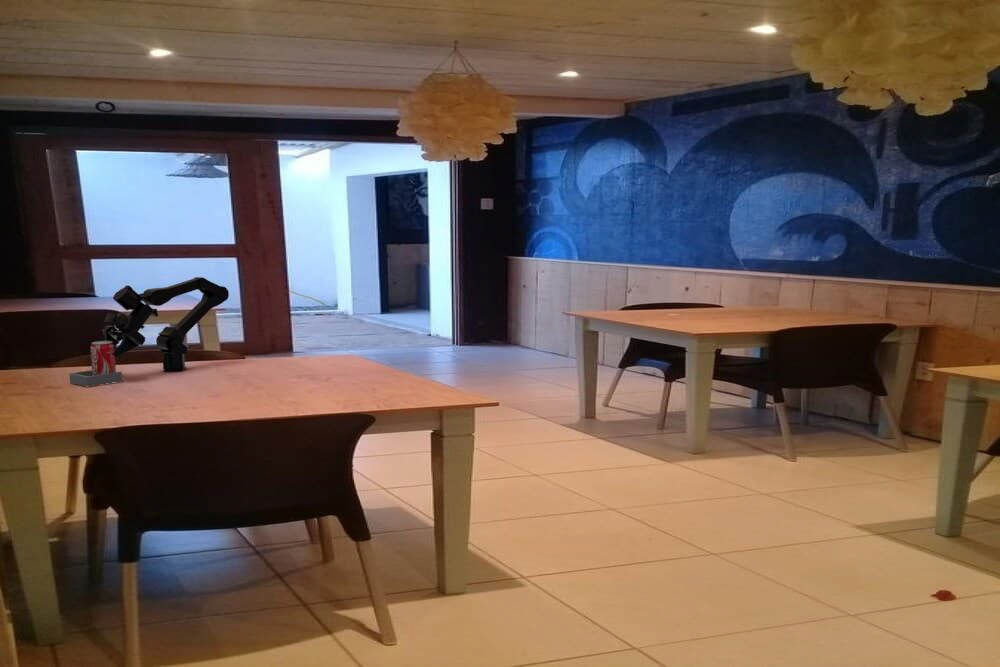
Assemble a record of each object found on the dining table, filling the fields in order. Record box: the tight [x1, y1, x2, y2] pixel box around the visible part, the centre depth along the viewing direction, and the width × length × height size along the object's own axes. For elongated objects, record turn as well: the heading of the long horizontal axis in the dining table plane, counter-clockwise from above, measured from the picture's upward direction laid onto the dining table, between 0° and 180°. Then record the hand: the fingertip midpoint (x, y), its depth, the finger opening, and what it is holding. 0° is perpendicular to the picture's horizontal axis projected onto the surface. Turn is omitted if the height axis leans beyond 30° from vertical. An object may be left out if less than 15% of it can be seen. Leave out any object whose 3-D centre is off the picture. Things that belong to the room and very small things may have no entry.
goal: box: [69, 369, 123, 387], centre depth 257 cm, size 12×12×3 cm
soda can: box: [90, 340, 117, 376], centre depth 258 cm, size 7×7×13 cm
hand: (107, 354), depth 260 cm, fingers open, 9 cm apart
